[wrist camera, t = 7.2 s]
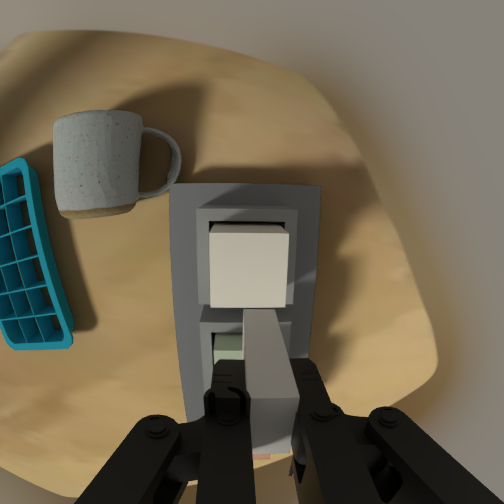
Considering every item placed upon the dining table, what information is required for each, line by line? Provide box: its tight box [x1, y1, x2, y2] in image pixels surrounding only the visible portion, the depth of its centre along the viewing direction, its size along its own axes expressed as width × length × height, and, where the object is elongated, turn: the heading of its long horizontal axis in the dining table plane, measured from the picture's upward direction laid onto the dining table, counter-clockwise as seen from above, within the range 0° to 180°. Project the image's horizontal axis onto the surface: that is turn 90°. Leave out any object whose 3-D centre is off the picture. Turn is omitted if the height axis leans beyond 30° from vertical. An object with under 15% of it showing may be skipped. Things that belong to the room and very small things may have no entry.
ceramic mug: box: [53, 110, 182, 219], centre depth 21 cm, size 11×8×8 cm
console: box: [169, 183, 321, 423], centre depth 25 cm, size 12×26×7 cm, turn 179°
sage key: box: [214, 332, 243, 365], centre depth 22 cm, size 4×4×4 cm
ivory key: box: [209, 223, 289, 308], centre depth 19 cm, size 4×4×4 cm
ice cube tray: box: [0, 157, 75, 350], centre depth 25 cm, size 12×20×3 cm, turn 10°
